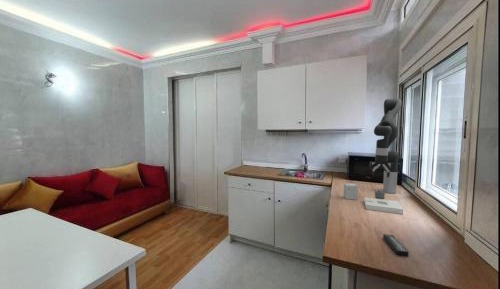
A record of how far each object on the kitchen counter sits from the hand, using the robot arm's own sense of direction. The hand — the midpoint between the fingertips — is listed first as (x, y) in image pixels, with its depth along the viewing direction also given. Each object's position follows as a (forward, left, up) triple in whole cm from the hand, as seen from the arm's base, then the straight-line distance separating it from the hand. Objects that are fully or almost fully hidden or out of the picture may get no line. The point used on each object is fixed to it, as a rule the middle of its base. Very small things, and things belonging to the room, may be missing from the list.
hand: (380, 176), depth 155 cm
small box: (+1, -19, -18) cm, 26 cm away
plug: (0, 0, -18) cm, 18 cm away
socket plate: (+13, 0, -18) cm, 22 cm away
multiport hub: (+65, -2, -18) cm, 68 cm away
